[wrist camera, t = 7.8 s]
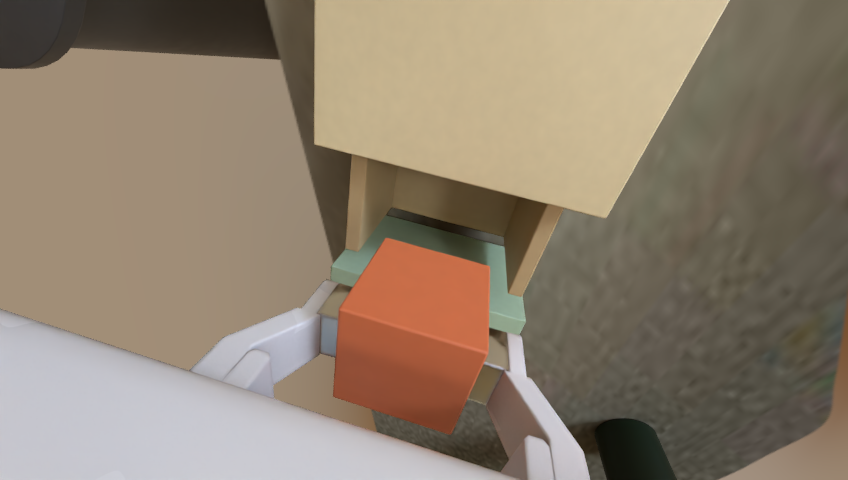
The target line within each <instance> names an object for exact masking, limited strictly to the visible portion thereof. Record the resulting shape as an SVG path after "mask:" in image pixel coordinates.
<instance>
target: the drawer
mask: <svg viewBox="0 0 848 480" xmlns="http://www.w3.org/2000/svg"><path fill="white" fill-rule="evenodd" d="M391 207H393V208H397V209H400V210H404V211H408V212H412V213H416V214H419V215H423V216H427V217H431V218H434V219H438V220H442V221H446V222H449V223H453V224H457V225H461V226H465V227H468V228H472V229H476V230H480V231H483V232H487V233H491V234H495V235H498V236H502V237H504V247H503V246H499V245H495V244H492V243H488V242H484V241H480V240H477V239H473V238H469V237H465V236H462V235H458V234H454V233H451V232H447V231H443V230H439V229H436V228H432V227H428V226H424V225H421V224H417V223H413V222H409V221H406V220H402V219H398V218H395V217H391V216H387V215H386V214H387V213H388V211H389V210H390V209H391ZM563 209H564V208H561V207H557V206H553V205H549V204H545V203H541V202H537V201H533V200H530V199H526V198H522V197H518V196H514V195H510V194H506V193H502V192H498V191H494V190H490V189H486V188H482V187H478V186H475V185H471V184H467V183H463V182H459V181H455V180H451V179H447V178H443V177H439V176H435V175H431V174H427V173H423V172H420V171H416V170H412V169H408V168H404V167H400V166H396V165H392V164H388V163H384V162H380V161H376V160H372V159H368V158H365V157H361V156H357V155H353V154H352V159H351V173H350V188H349V202H348V217H347V231H346V246H345V248H346V249H345V250H344V251H343V252H342V254H341V255H340V256H339V257H338V258H337V260H336V261H335V262H334V263H333V265H332V266H331V281H334V282H337V283H341V284H344V285H348V286H351V287H353V286H354V285H355V283H356V282H357V280H358V279H359V277H360V275H361V274H362V272H363V271H364V269H365V268H366V266H367V265H368V263H369V262H370V260H371V259H372V257H373V256H374V254H375V253H376V251H377V250H378V248H379V247H380V245H381V244H382V242H383V241H384V239H385V238H390V239H394V240H397V241H401V242H404V243H408V244H412V245H415V246H419V247H422V248H426V249H430V250H433V251H437V252H441V253H444V254H448V255H451V256H455V257H459V258H462V259H466V260H469V261H473V262H477V263H480V264H484V265H487V266H490V302H489V327H491V328H494V329H498V330H501V331H505V332H509V333H513V334H516V335H519V334H520V332H521V330H522V328H523V326H524V324H525V322H526V320H525V312H524V305H523V297H522V295H523V293H524V291H525V289H526V287H527V285H528V283H529V281H530V279H531V277H532V274H533V272H534V270H535V268H536V266H537V264H538V262H539V260H540V258H541V256H542V253H543V251H544V249H545V247H546V245H547V243H548V241H549V239H550V237H551V235H552V233H553V230H554V228H555V226H556V224H557V222H558V220H559V218H560V216H561V214H562V212H563Z"/></svg>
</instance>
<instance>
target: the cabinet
mask: <svg viewBox="0 0 848 480" xmlns="http://www.w3.org/2000/svg"><path fill="white" fill-rule="evenodd" d="M728 2H729V0H315V17H314V144H315V145H317V146H321V147H325V148H329V149H333V150H337V151H341V152H345V153H349V154H353V155H357V156H361V157H365V158H368V159H372V160H376V161H380V162H384V163H388V164H392V165H396V166H400V167H404V168H408V169H412V170H416V171H420V172H423V173H427V174H431V175H435V176H439V177H443V178H447V179H451V180H455V181H459V182H463V183H467V184H471V185H475V186H478V187H482V188H486V189H490V190H494V191H498V192H502V193H506V194H510V195H514V196H518V197H522V198H526V199H530V200H533V201H537V202H541V203H545V204H549V205H553V206H557V207H561V208H565V209H569V210H573V211H577V212H581V213H585V214H588V215H592V216H596V217H600V218H606V217H607V216H608V214H609V212H610V210H611V209H612V207H613V205H614V203H615V202H616V200H617V198H618V196H619V194H620V193H621V191H622V189H623V187H624V186H625V184H626V182H627V180H628V179H629V177H630V175H631V173H632V172H633V170H634V168H635V166H636V164H637V163H638V161H639V159H640V157H641V156H642V154H643V152H644V150H645V149H646V147H647V145H648V143H649V142H650V140H651V138H652V136H653V135H654V133H655V131H656V129H657V127H658V126H659V124H660V122H661V120H662V119H663V117H664V115H665V113H666V112H667V110H668V108H669V106H670V105H671V103H672V101H673V99H674V97H675V96H676V94H677V92H678V90H679V89H680V87H681V85H682V83H683V82H684V80H685V78H686V76H687V75H688V73H689V71H690V69H691V68H692V66H693V64H694V62H695V60H696V59H697V57H698V55H699V53H700V52H701V50H702V48H703V46H704V45H705V43H706V41H707V39H708V38H709V36H710V34H711V32H712V30H713V29H714V27H715V25H716V23H717V22H718V20H719V18H720V16H721V15H722V13H723V11H724V9H725V8H726V6H727V4H728Z"/></svg>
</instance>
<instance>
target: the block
mask: <svg viewBox="0 0 848 480" xmlns="http://www.w3.org/2000/svg"><path fill="white" fill-rule="evenodd" d="M489 302H490V266H487V265H484V264H480V263H477V262H473V261H469V260H466V259H462V258H459V257H455V256H451V255H448V254H444V253H441V252H437V251H433V250H430V249H426V248H422V247H419V246H415V245H412V244H408V243H404V242H401V241H397V240H394V239H390V238H385V239H384V241H383V242H382V244H381V245H380V247H379V248H378V250H377V251H376V253H375V254H374V256H373V257H372V259H371V260H370V262H369V263H368V265H367V266H366V268H365V269H364V271H363V272H362V274H361V275H360V277H359V279H358V280H357V282H356V283H355V285H354V286H353V288H352V289H351V291H350V292H349V294H348V295H347V297H346V298H345V300H344V301H343V303H342V304H341V306H340V307H339V311H338V327H337V342H336V358H335V374H334V390H333V396H334V397H335V398H338V399H341V400H345V401H348V402H351V403H354V404H357V405H360V406H363V407H366V408H369V409H372V410H375V411H378V412H382V413H385V414H388V415H391V416H394V417H397V418H400V419H403V420H406V421H409V422H412V423H416V424H419V425H422V426H425V427H428V428H431V429H434V430H437V431H440V432H443V433H446V434H451V433H452V432H453V429H454V427H455V425H456V423H457V421H458V419H459V416H460V414H461V412H462V410H463V408H464V406H465V403H466V401H467V399H468V397H469V395H470V393H471V390H472V388H473V386H474V384H475V382H476V379H477V377H478V375H479V373H480V371H481V369H482V366H483V364H484V362H485V360H486V358H487V356H488V352H489Z"/></svg>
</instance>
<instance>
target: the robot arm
mask: <svg viewBox="0 0 848 480" xmlns="http://www.w3.org/2000/svg"><path fill="white" fill-rule="evenodd" d="M352 288H353V287H351V286H348V285H344V284H341V283H337V282H334V281H331V280H325V281H323V282H322V284H321V285H320V286H319V287H318V288H317V290H316V291H315V292H314V293H313V295H312V296H311V297H310V298H309V299H308V301H307V302H306V303H305V304H304V306H303V307H302V308H301V309H300V308H295V309H292V310H290V311H287V312H285V313H283V314H280V315H277V316H275V317H272V318H270V319H267V320H265V321H262V322H260V323H257V324H255V325H253V326H250V327H247V328H245V329H242V330H240V331H237V332H235V333H232V334H230V335H227V336H225V337H223V338H222V339H221V340H220V341H219V342H218V343H217V344H216V345H215V346H214V347H213V348H212V349H211V350H210V351H208V353H206V355H204V356H203V357H202V358H201V359H200V360H199V361H198V362H197V363H196V364H195V365H194V366H193V367H192V368H191V369H190V370H189V371H188V370H185V369H182V368H179V367H176V366H173V365H170V364H167V363H164V362H161V361H158V360H155V359H152V358H148V357H146V356H143V355H140V354H137V353H134V352H131V351H127V350H124V349H121V348H118V347H115V346H112V345H109V344H106V343H103V342H100V341H97V340H94V339H91V338H88V337H85V336H82V335H78V334H76V333H72V332H70V331H67V330H63V329H61V328H57V327H54V326H51V325H48V324H45V323H42V322H39V321H36V320H33V319H30V318H27V317H24V316H21V315H18V314H15V313H12V312H9V311H6V310H3V309H0V480H590V477H589V472H588V468H587V464H586V460H585V456H584V451H583V450H582V449H581V447H580V446H579V444H578V443H577V442H576V440H575V439H574V437H573V436H572V435H571V433H570V432H569V431H568V429H567V428H566V426H565V425H564V424H563V422H562V421H561V419H560V418H559V417H558V415H557V414H556V412H555V411H554V410H553V408H552V407H551V405H550V404H549V403H548V401H547V400H546V398H545V397H544V396H543V394H542V393H541V392H540V390H539V389H538V387H537V386H536V385H535V383H534V382H533V380H532V379H531V378H529V377H526V368H525V359H524V351H523V342H522V337H521V336H520V335H516V334H513V333H509V332H505V331H501V330H498V329H494V328H491V327H489V352H488V356H487V358H486V360H485V362H484V364H483V366H482V369H481V371H480V373H479V375H478V377H477V379H476V382H475V384H474V386H473V388H472V390H471V393H470V395H469V397H468V399H470V400H473V401H476V402H478V403H481V404H484V405H486V408H487V411H488V413H489V415H490V417H491V420H492V422H493V424H494V426H495V429H496V431H497V433H498V436H499V438H500V440H501V442H502V445H503V447H504V449H505V451H506V454H507V456H508V458H509V461H508V462H507V464H506V465H505V466H504V468H503V469H502V471H501V472H497V471H494V470H491V469H488V468H485V467H482V466H479V465H476V464H473V463H470V462H466V461H463V460H460V459H457V458H454V457H451V456H448V455H445V454H442V453H439V452H436V451H433V450H430V449H427V448H424V447H421V446H417V445H414V444H411V443H408V442H405V441H402V440H399V439H396V438H393V437H390V436H387V435H384V434H381V433H378V432H375V431H372V430H368V429H366V428H362V427H359V426H356V425H353V424H350V423H347V422H344V421H341V420H338V419H335V418H332V417H329V416H326V415H323V414H320V413H317V412H314V411H310V410H307V409H304V408H301V407H298V406H295V405H292V404H289V403H286V402H283V401H280V400H277V399H274V391H273V385H274V384H276V383H277V382H279V381H280V380H282V379H283V378H285V377H286V376H288V375H289V374H291V373H292V372H294V371H296V370H297V369H298V368H300V367H302V366H303V365H305V364H306V363H307V362H309V361H311V360H312V359H314V358H315V357H317V356H318V355H319V353H321V354H324V355H328V356H331V357H335V358H336V342H337V327H338V311H339V307H340V306H341V304H342V303H343V301H344V300H345V298H346V297H347V295H348V294H349V292H350V291H351V289H352Z"/></svg>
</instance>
